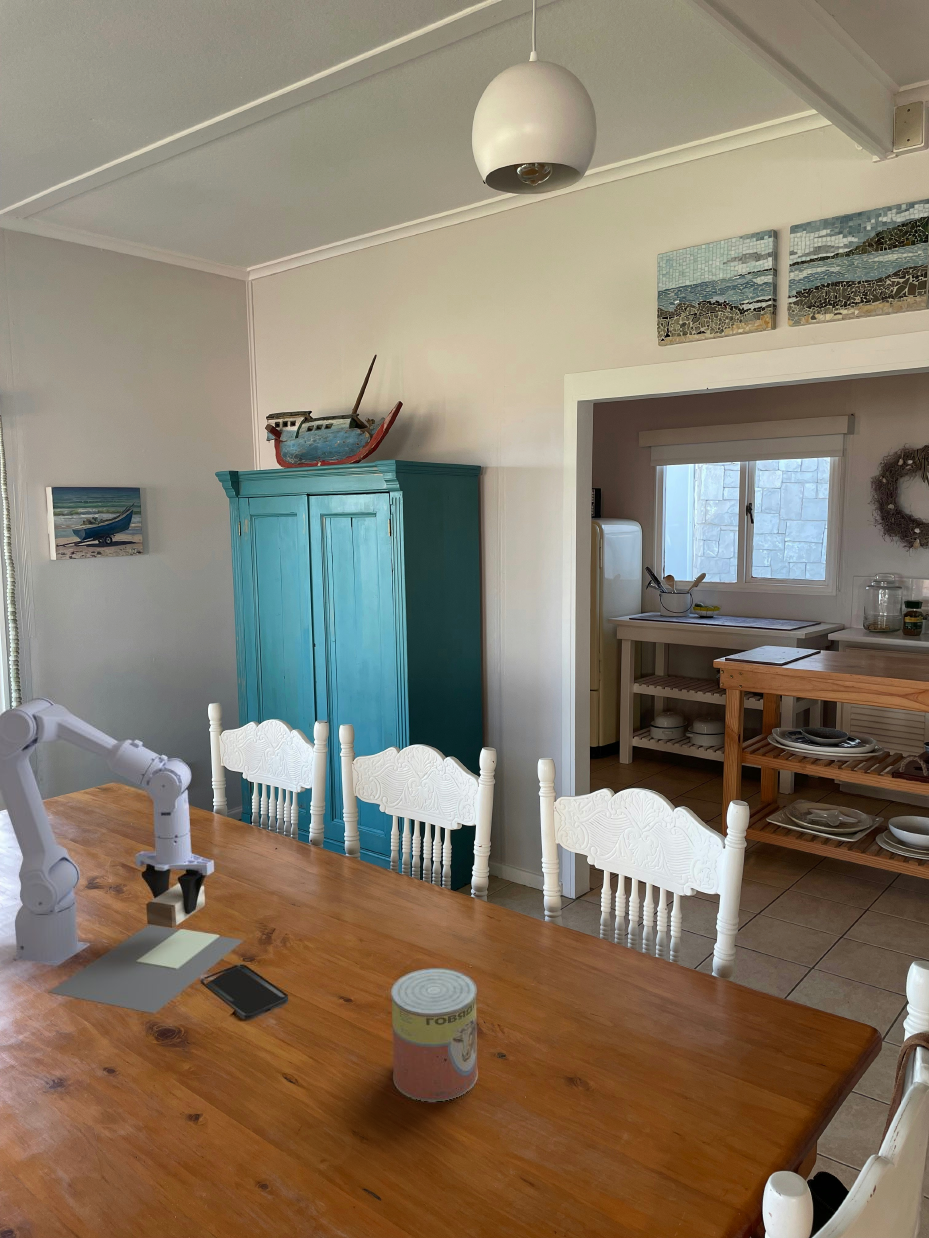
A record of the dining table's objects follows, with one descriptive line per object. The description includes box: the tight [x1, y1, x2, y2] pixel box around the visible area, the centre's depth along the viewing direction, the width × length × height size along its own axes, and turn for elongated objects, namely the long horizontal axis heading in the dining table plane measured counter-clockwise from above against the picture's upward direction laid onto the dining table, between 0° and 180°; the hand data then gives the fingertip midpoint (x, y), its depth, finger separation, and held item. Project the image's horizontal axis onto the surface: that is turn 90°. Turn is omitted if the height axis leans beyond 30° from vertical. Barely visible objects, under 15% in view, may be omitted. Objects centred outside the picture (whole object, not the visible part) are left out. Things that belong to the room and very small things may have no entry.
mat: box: [48, 924, 244, 1014], centre depth 147 cm, size 20×24×1 cm
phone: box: [200, 963, 289, 1021], centre depth 139 cm, size 8×1×15 cm
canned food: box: [390, 967, 479, 1103], centre depth 118 cm, size 11×11×12 cm
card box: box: [145, 883, 206, 929], centre depth 152 cm, size 9×5×4 cm, turn 161°
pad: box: [136, 928, 220, 969], centre depth 153 cm, size 12×8×1 cm, turn 161°
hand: (176, 909), depth 152 cm, fingers closed on card box, 5 cm apart
